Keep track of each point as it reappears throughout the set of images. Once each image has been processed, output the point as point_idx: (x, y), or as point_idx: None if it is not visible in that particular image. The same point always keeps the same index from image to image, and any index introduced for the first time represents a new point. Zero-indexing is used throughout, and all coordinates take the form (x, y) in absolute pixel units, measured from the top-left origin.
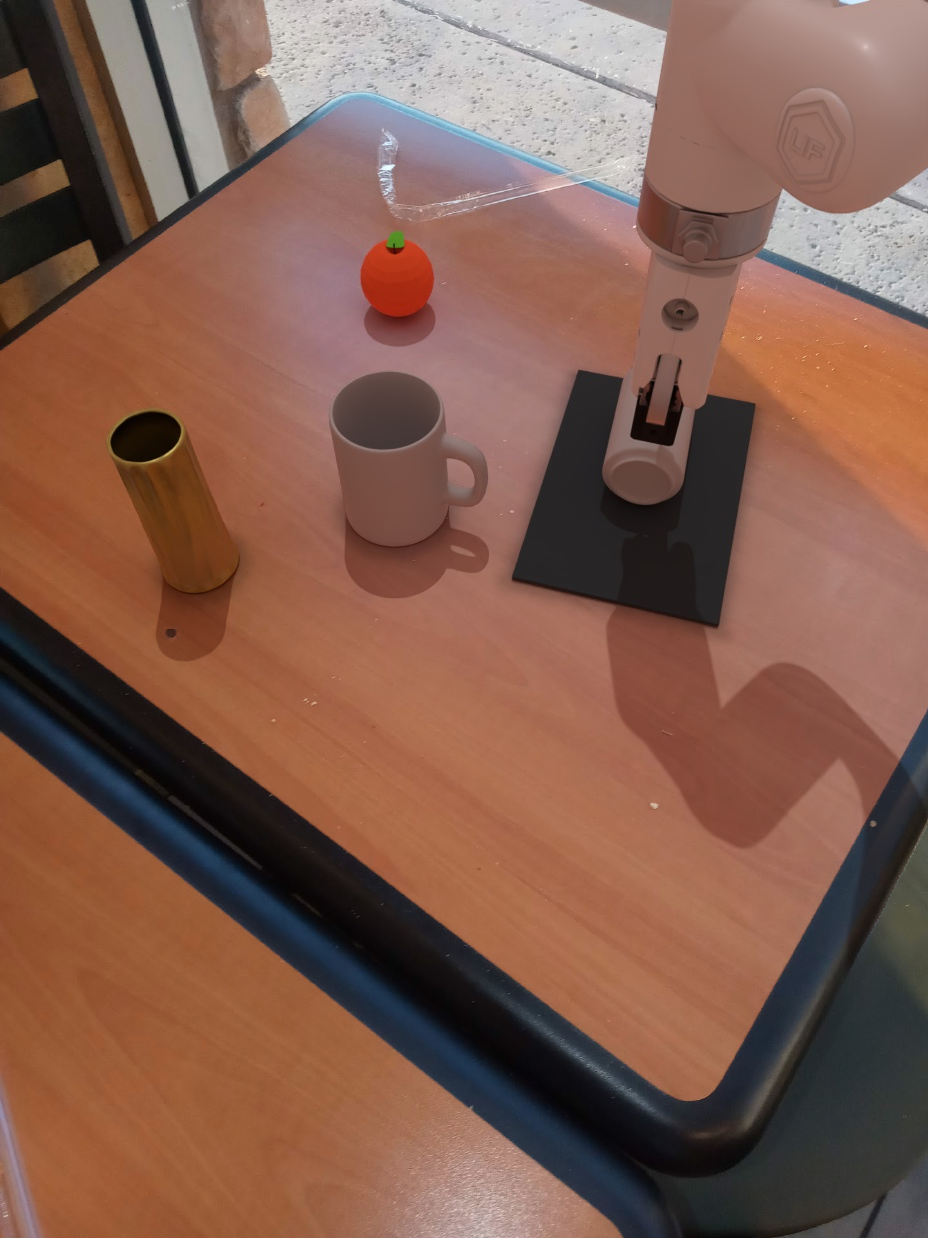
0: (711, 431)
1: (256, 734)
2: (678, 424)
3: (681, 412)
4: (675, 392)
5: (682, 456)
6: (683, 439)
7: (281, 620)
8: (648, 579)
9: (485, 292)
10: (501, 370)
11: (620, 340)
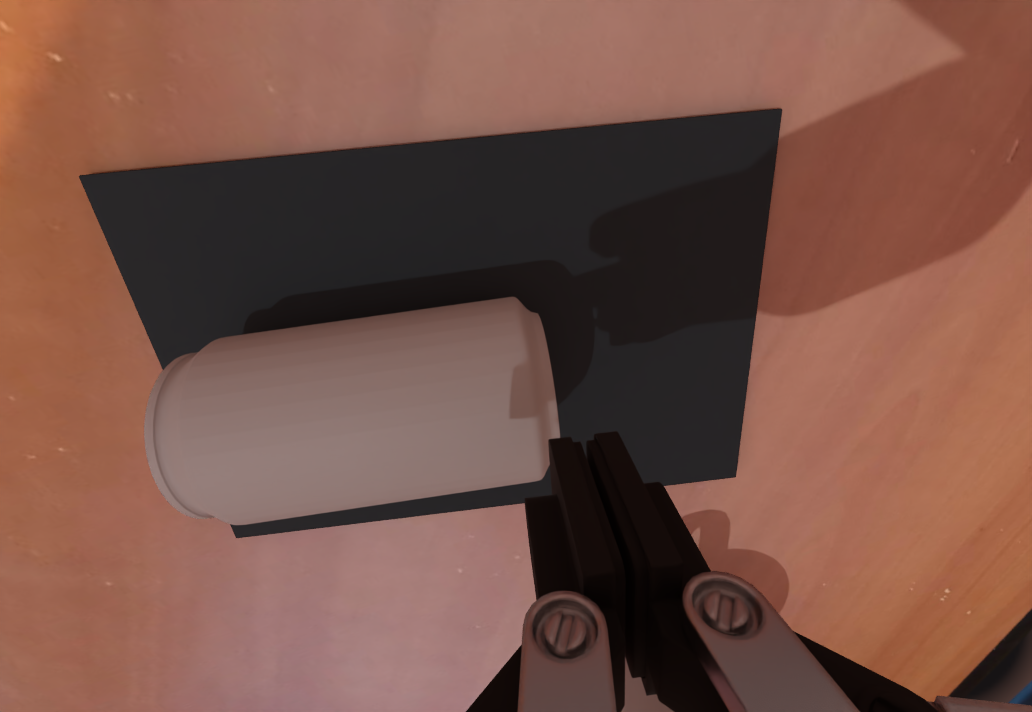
0: (246, 259)
1: (986, 617)
2: (645, 489)
3: (669, 537)
4: (603, 605)
5: (482, 339)
6: (430, 355)
7: None
8: (697, 277)
9: (150, 699)
10: (311, 624)
11: (98, 497)
